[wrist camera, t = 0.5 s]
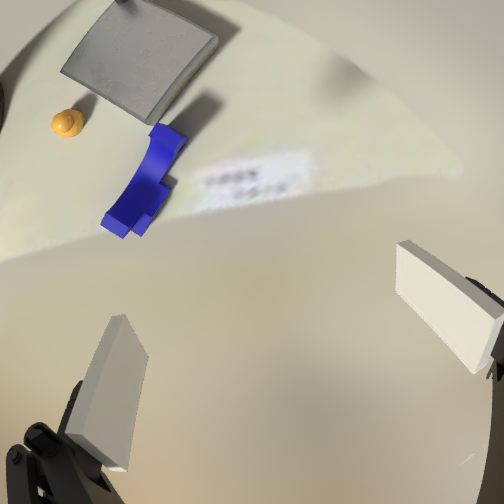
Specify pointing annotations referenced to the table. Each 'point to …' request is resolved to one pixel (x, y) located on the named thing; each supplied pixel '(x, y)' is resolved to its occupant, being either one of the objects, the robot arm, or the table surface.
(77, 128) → the chess pawn
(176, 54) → the grey square plate
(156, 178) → the cable clip
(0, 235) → the table surface
